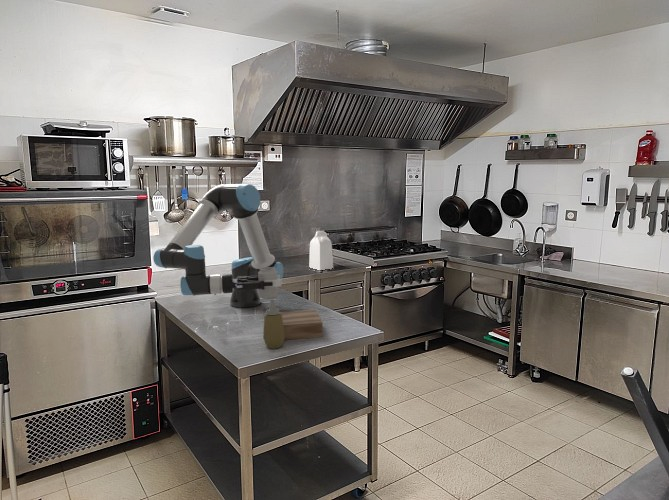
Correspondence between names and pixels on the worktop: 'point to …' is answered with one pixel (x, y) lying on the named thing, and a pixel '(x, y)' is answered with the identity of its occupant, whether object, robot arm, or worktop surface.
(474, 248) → the worktop surface
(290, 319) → the walnut block
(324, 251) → the milk
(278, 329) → the squeeze bottle
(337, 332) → the worktop surface
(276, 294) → the can
